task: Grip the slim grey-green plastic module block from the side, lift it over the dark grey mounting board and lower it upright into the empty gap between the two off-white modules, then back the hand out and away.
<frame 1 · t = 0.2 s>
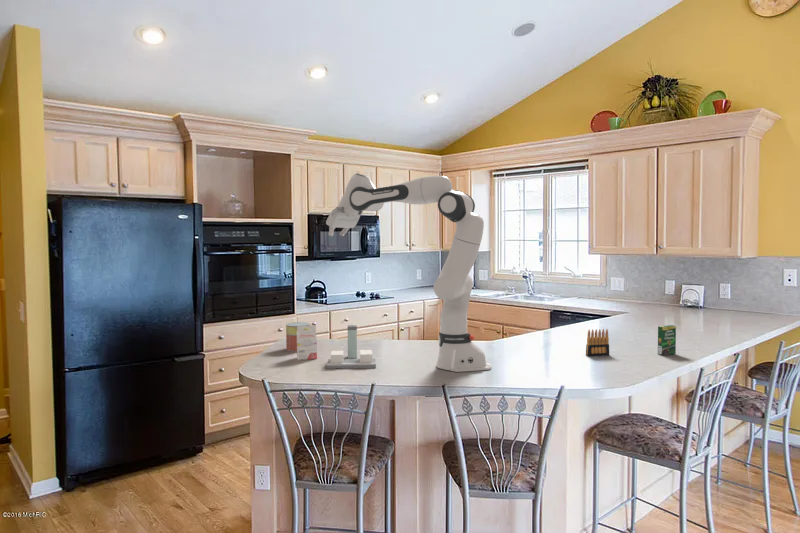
hand: (335, 235, 256), 54 cm above the countertop, tool tilted 30°, fingers open, 8 cm apart
mounting board: (351, 364, 239), on the countertop
ammunition clip: (597, 355, 257), on the countertop
canned food: (298, 349, 271), on the countertop
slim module: (352, 357, 254), on the countertop
coffee box: (666, 354, 259), on the countertop
ink cartridge box: (306, 358, 252), on the countertop
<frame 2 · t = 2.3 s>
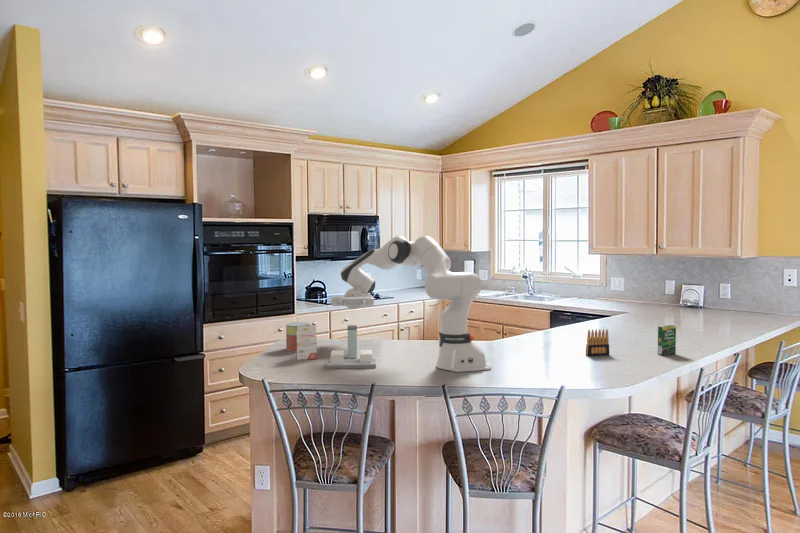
hand: (352, 303, 264), 22 cm above the countertop, tool horizontal, fingers open, 8 cm apart
nothing on the countertop moved.
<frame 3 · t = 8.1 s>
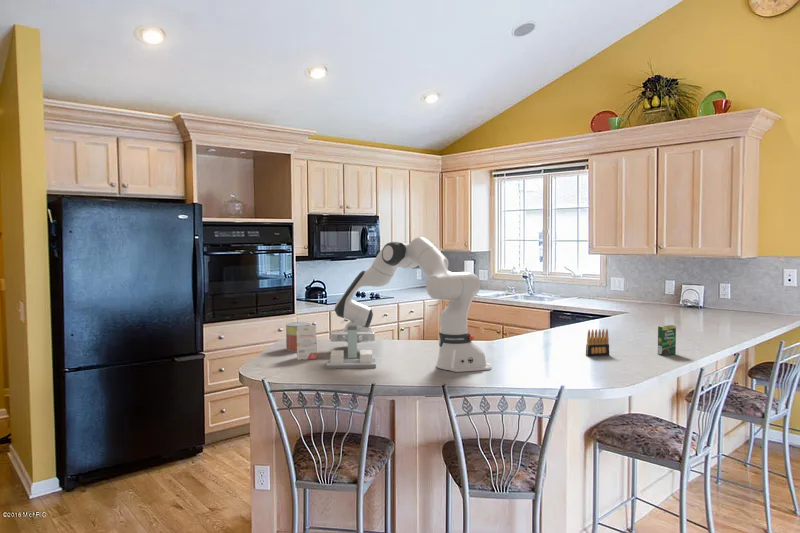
hand: (352, 339, 252), 8 cm above the countertop, tool horizontal, fingers closed on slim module, 4 cm apart
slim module: (352, 357, 254), on the countertop, touching gripper
everything else where it was.
when the fingers open (11 cm above the countertop, at t = 16.3 s): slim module drops 1 cm, resting on mounting board.
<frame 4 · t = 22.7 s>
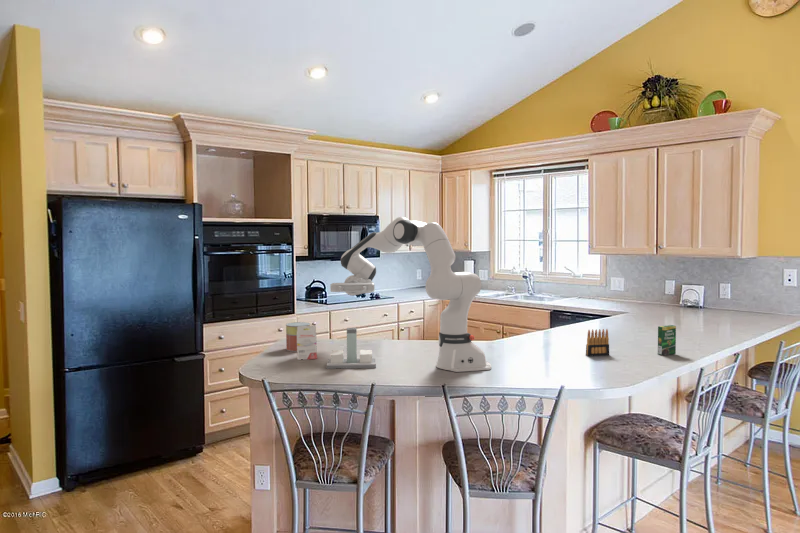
hand: (352, 289, 256), 30 cm above the countertop, tool horizontal, fingers open, 8 cm apart
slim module: (351, 361, 239), point 1 cm above the countertop, touching mounting board
everything else where it was.
at the end: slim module 0.1 cm off-centre on the mounting board, point 1.2 cm above the mounting board's base; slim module tilted 0°; the gripper is holding nothing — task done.
